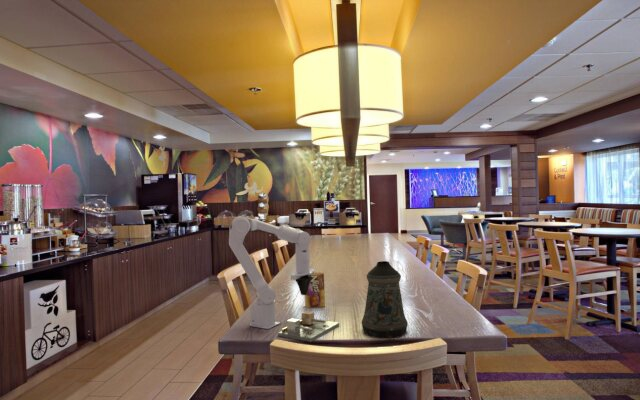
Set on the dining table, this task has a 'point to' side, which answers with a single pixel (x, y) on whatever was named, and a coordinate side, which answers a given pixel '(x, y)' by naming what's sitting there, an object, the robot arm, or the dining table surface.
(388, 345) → the dining table surface
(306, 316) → the slider
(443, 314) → the dining table surface
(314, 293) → the candy box
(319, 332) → the bolt plate
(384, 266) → the beer stein
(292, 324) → the fixed leg
